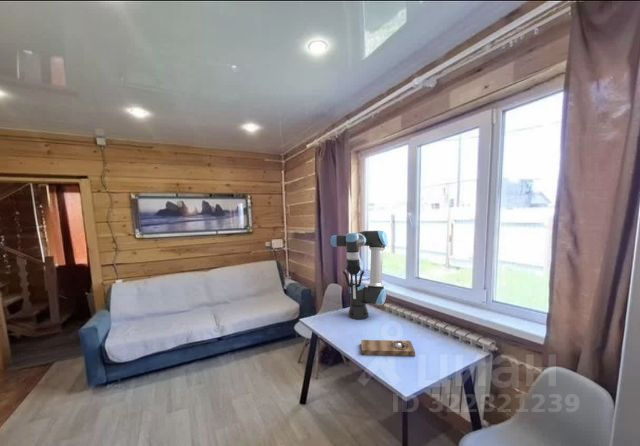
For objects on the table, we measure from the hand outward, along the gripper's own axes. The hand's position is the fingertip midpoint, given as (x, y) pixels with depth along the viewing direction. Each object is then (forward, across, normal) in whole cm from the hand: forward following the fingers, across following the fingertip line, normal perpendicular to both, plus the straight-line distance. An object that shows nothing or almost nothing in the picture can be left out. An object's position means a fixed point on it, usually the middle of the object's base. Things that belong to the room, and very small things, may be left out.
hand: (354, 298), depth 160 cm
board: (+26, +17, -9) cm, 33 cm away
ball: (+24, +23, -9) cm, 35 cm away
